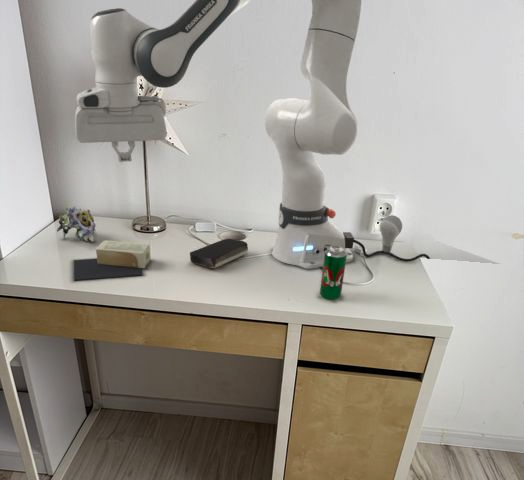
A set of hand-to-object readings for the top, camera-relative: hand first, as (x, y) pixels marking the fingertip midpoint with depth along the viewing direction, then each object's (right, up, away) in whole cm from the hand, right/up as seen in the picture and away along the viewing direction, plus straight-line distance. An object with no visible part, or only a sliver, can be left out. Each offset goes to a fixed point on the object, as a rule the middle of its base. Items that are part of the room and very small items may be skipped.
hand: (125, 161), depth 122 cm
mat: (-7, -24, +9) cm, 26 cm away
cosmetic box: (+3, -21, +10) cm, 23 cm away
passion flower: (-20, -14, +24) cm, 34 cm away
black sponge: (+21, -21, +17) cm, 34 cm away
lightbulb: (+68, -17, +27) cm, 75 cm away
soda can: (+49, -32, +2) cm, 58 cm away
